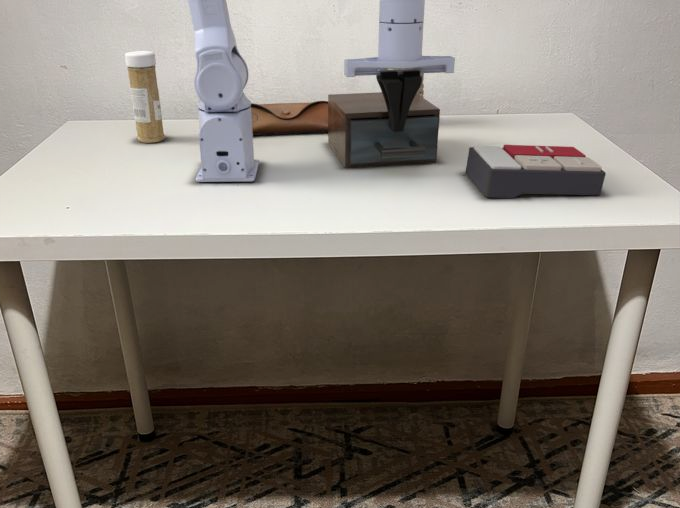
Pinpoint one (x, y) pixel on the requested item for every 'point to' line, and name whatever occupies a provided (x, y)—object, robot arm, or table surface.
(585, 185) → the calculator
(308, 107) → the sunglasses case
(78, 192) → the table surface
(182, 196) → the table surface
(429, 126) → the drawer
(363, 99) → the cabinet
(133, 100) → the sprinkles bottle
